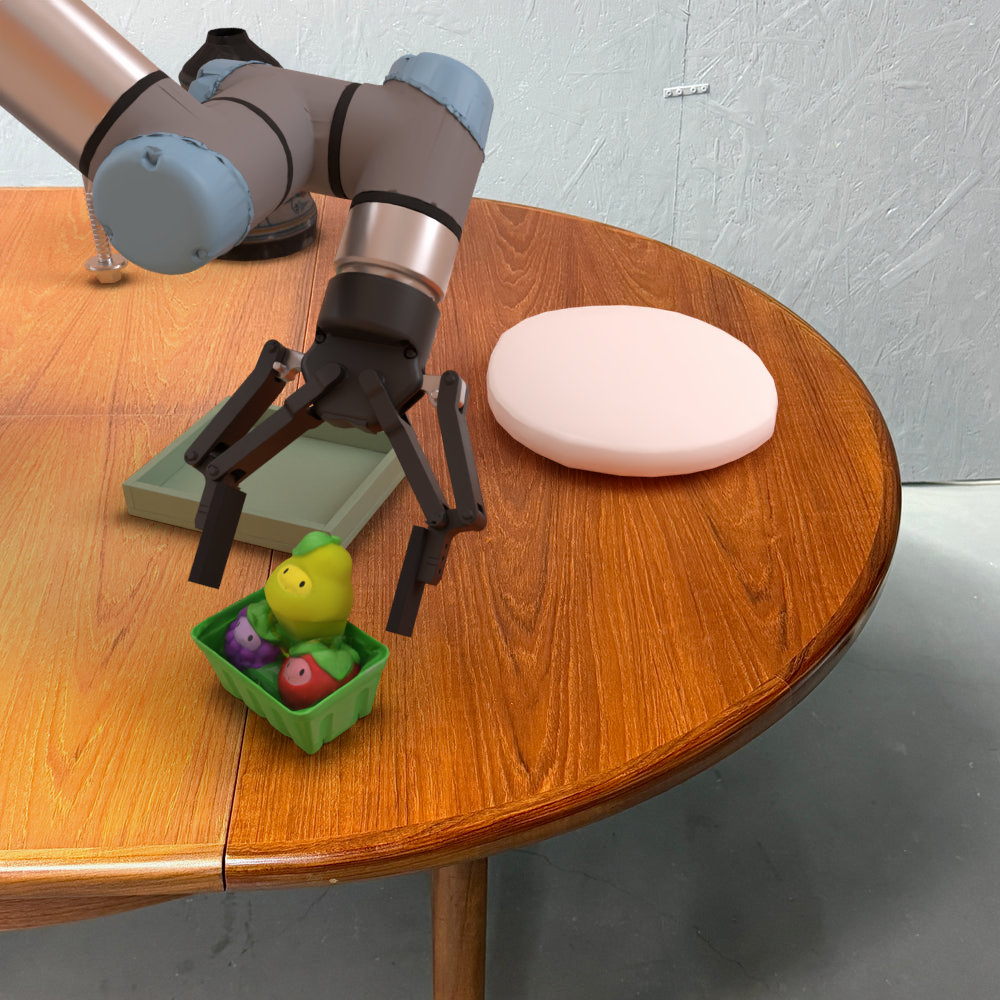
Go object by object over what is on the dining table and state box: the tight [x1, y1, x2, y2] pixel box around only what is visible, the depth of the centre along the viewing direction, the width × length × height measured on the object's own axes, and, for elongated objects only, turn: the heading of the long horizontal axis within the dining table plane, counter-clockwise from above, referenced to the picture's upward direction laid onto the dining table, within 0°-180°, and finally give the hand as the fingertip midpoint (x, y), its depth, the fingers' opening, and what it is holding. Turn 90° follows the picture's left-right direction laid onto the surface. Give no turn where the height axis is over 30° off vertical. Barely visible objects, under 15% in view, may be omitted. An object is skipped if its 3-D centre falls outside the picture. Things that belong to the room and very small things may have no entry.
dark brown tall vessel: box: [177, 27, 319, 262], centre depth 130 cm, size 16×19×25 cm
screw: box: [81, 173, 129, 284], centre depth 123 cm, size 13×5×5 cm
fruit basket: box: [190, 531, 390, 755], centre depth 67 cm, size 11×9×11 cm
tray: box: [121, 395, 406, 554], centre depth 90 cm, size 19×16×3 cm
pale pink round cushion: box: [485, 304, 779, 478], centre depth 100 cm, size 28×6×27 cm
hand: (297, 609), depth 67 cm, fingers open, 13 cm apart
